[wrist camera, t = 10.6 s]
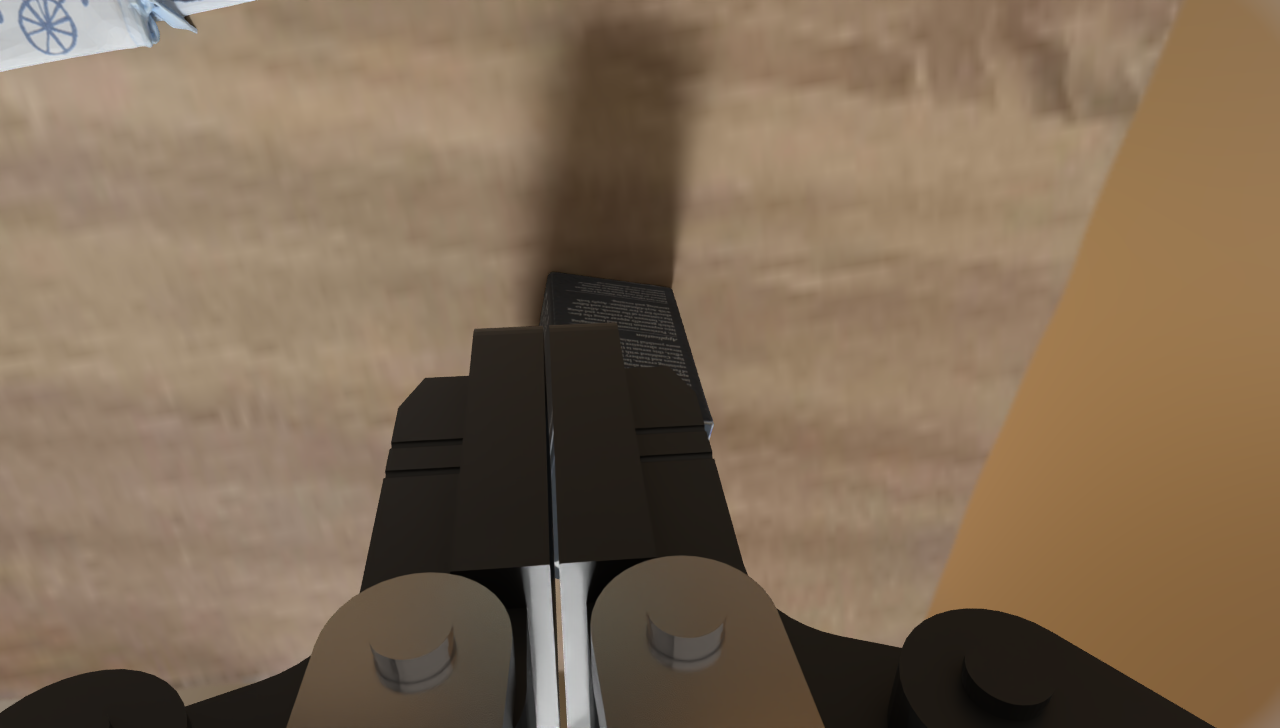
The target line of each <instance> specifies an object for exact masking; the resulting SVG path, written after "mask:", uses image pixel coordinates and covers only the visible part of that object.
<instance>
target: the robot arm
mask: <svg viewBox="0 0 1280 728" xmlns="http://www.w3.org/2000/svg"><path fill="white" fill-rule="evenodd" d="M549 333H550V357H551V382H552V406H553V431H554V455H555V480H556V504H557V529H558V553H559V575H560V594H561V613H562V632H563V651H564V670H565V687H566V708H567V727H568V728H1215V727H1214V726H1212V725H1210V724H1208V723H1207V722H1205V721H1203V720H1202V719H1200V718H1198V717H1196V716H1195V715H1193V714H1191V713H1190V712H1188V711H1186V710H1185V709H1183V708H1181V707H1179V706H1178V705H1176V704H1174V703H1173V702H1171V701H1169V700H1167V699H1166V698H1164V697H1162V696H1161V695H1159V694H1157V693H1155V692H1153V691H1152V690H1150V689H1149V688H1147V687H1145V686H1144V685H1142V684H1140V683H1138V682H1137V681H1135V680H1133V679H1131V678H1130V677H1128V676H1126V675H1124V674H1123V673H1121V672H1119V671H1118V670H1116V669H1114V668H1113V667H1111V666H1109V665H1107V664H1106V663H1104V662H1102V661H1100V660H1099V659H1097V658H1095V657H1094V656H1092V655H1090V654H1089V653H1087V652H1085V651H1083V650H1082V649H1080V648H1078V647H1077V646H1075V645H1073V644H1072V643H1070V642H1068V641H1067V640H1065V639H1063V638H1061V637H1060V636H1058V635H1056V634H1055V633H1053V632H1051V631H1049V630H1047V629H1045V628H1043V627H1041V626H1040V625H1038V624H1036V623H1034V622H1031V621H1028V620H1026V619H1023V618H1021V617H1018V616H1014V615H1011V614H1008V613H1004V612H1000V611H993V610H987V609H958V610H950V611H947V612H944V613H940V614H936V615H934V616H932V617H930V618H928V619H926V620H924V621H923V622H922V623H921V624H919V625H918V626H917V627H915V628H914V629H913V631H912V632H911V633H910V634H909V636H908V637H907V638H906V641H905V643H904V645H903V647H902V648H899V647H894V646H889V645H884V644H878V643H873V642H868V641H863V640H858V639H853V638H847V637H842V636H838V635H834V634H830V633H826V632H822V631H819V630H817V629H814V628H811V627H809V626H806V625H804V624H802V623H800V622H798V621H796V620H794V619H792V618H790V617H789V616H787V615H786V614H784V613H783V612H781V611H780V610H778V609H777V608H776V607H775V605H774V603H773V601H772V599H771V598H770V597H769V595H768V594H767V593H766V592H765V590H764V589H763V588H762V587H761V586H760V585H759V584H758V583H757V582H755V581H754V580H753V579H752V578H751V577H749V576H748V574H747V572H746V569H745V567H744V564H743V561H742V557H741V553H740V550H739V546H738V543H737V539H736V535H735V532H734V528H733V525H732V521H731V517H730V514H729V510H728V507H727V503H726V499H725V496H724V492H723V489H722V485H721V482H720V478H719V474H718V471H717V467H716V464H715V460H714V459H713V458H712V449H711V446H710V442H709V438H708V435H707V431H705V424H704V421H703V417H702V413H701V410H700V406H699V403H698V399H697V395H696V392H695V391H694V390H693V389H692V388H691V387H690V386H689V385H688V384H686V383H685V382H684V381H683V380H682V379H681V378H680V377H679V376H678V375H677V374H676V373H675V372H674V371H673V370H672V369H671V368H670V367H669V366H658V367H637V368H625V366H624V360H623V354H622V348H621V342H620V336H619V331H618V325H617V323H616V322H615V323H592V324H569V325H549ZM391 445H392V448H391V449H390V450H389V455H388V460H387V465H386V470H385V473H386V478H384V479H383V484H382V489H381V494H380V498H379V503H378V508H377V513H376V518H375V523H374V527H373V532H372V537H371V542H370V547H369V551H368V556H367V561H366V566H365V571H364V575H363V580H362V585H361V590H360V593H359V594H358V595H356V596H354V597H353V598H352V599H350V600H349V601H348V602H347V603H345V604H344V605H343V606H342V607H340V608H339V609H338V610H337V612H336V613H335V614H334V615H333V616H332V617H331V618H330V619H329V620H328V622H327V623H326V625H325V626H324V628H323V629H322V631H321V632H320V634H319V637H318V639H317V641H316V643H315V645H314V648H313V651H312V654H311V656H309V657H308V658H306V659H305V660H303V661H302V662H300V663H299V664H297V665H295V666H293V667H291V668H289V669H288V670H286V671H284V672H282V673H280V674H277V675H275V676H272V677H270V678H267V679H265V680H262V681H260V682H257V683H254V684H251V685H248V686H245V687H242V688H239V689H236V690H233V691H230V692H227V693H224V694H221V695H218V696H216V697H212V698H209V699H206V700H204V701H200V702H197V703H194V704H192V705H189V706H186V707H185V706H184V703H183V701H182V700H181V698H180V696H179V695H178V693H177V691H176V690H175V689H174V688H172V687H171V686H170V685H169V684H168V683H167V682H165V681H164V680H162V679H160V678H158V677H156V676H155V675H151V674H148V673H145V672H141V671H134V670H126V669H116V670H101V671H95V672H89V673H84V674H81V675H77V676H73V677H70V678H66V679H64V680H61V681H59V682H56V683H53V684H51V685H48V686H46V687H44V688H42V689H40V690H38V691H36V692H34V693H32V694H30V695H28V696H26V697H24V698H23V699H21V700H19V701H18V702H16V703H15V704H13V705H12V706H10V707H8V708H7V709H5V710H4V711H2V712H1V713H0V728H560V705H559V678H558V648H557V620H556V591H555V563H554V534H553V505H552V481H551V459H550V440H549V421H548V403H547V385H546V366H545V348H544V331H543V326H529V327H506V328H483V329H474V333H473V342H472V353H471V363H470V373H469V376H456V377H435V378H425V379H424V380H423V381H422V382H421V383H420V384H419V385H418V386H417V388H416V389H415V390H414V391H413V392H412V393H411V394H410V395H409V397H408V398H407V399H406V400H405V401H404V402H403V403H402V404H401V406H400V407H399V408H398V412H397V417H396V422H395V426H394V431H393V436H392V441H391Z"/></svg>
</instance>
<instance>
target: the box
mask: <svg viewBox="0 0 1280 728" xmlns="http://www.w3.org/2000/svg"><path fill="white" fill-rule="evenodd" d="M615 322H616V323H617V325H618V331H619V336H620V342H621V348H622V354H623V360H624V366H625V368H637V367H658V366H669V367H670V368H671V369H672V370H673V371H674V372H675V373H676V374H677V375H678V376H679V377H680V378H681V379H682V380H683V381H684V382H685V383H686V384H688V385H689V386H690V387H691V388H692V389H693V390H694V391H695V392H696V395H697V399H698V403H699V406H700V410H701V413H702V417H703V421H704V424H705V431H707V435H708V438H709V439H710V436H711V432H712V429H713V426H714V423H713V419H712V417H711V414H710V411H709V408H708V405H707V401H706V399H705V396H704V392H703V389H702V386H701V383H700V379H699V376H698V373H697V369H696V366H695V362H694V359H693V356H692V353H691V349H690V346H689V343H688V340H687V336H686V333H685V329H684V326H683V323H682V319H681V317H680V313H679V310H678V307H677V304H676V300H675V297H674V293H673V290H672V289H671V288H668V287H661V286H655V285H648V284H639V283H631V282H624V281H616V280H608V279H601V278H593V277H587V276H579V275H573V274H565V273H559V272H551V273H550V274H549V275H548V278H547V283H546V288H545V294H544V301H543V306H542V312H541V318H540V323H539V326H543V331H544V348H545V366H546V385H547V403H548V421H549V440H550V459H551V481H552V505H553V534H554V563H555V578H556V579H560V575H559V553H558V529H557V504H556V480H555V455H554V431H553V406H552V382H551V357H550V333H549V325H569V324H592V323H615Z"/></svg>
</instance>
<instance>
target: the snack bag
mask: <svg viewBox="0 0 1280 728" xmlns="http://www.w3.org/2000/svg"><path fill="white" fill-rule="evenodd" d="M250 1H254V0H0V72H2V71H7V70H11V69H16V68H21V67H26V66H32V65H37V64H42V63H47V62H52V61H58V60H63V59H69V58H74V57H79V56H87V55H92V54H97V53H103V52H108V51H114V50H121V49H131V48H136V47H140V46H147V47H152V46H153V44H157V43H158V42H159V39H160V33H159V30H158V27H157V25H156V23H155V22H156V21H163V20H164V21H165V22H167V23H168V24H169V25H170V26H171V27H173V28H179V29H188V30H190V31H192V32H194V33H197V29H196V28H195V27H193V26H192V25H190V24H189V23H188V22H187V21H186V20H185V18H184V17H185V16H187V15H191V14H195V13H199V12H204V11H208V10H213V9H218V8H223V7H228V6H233V5H237V4H241V3H245V2H250Z"/></svg>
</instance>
